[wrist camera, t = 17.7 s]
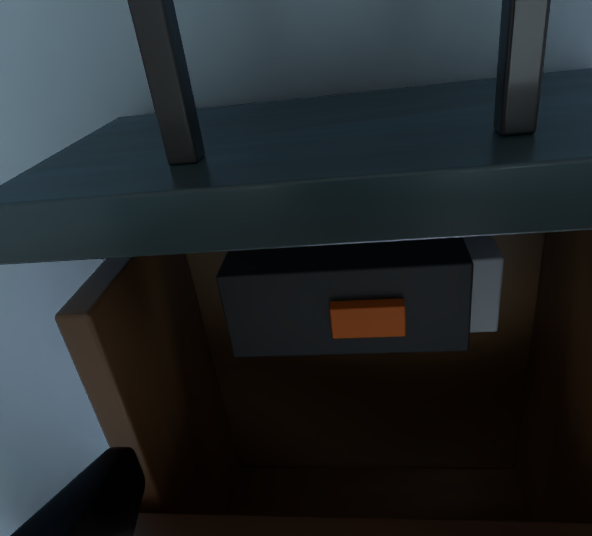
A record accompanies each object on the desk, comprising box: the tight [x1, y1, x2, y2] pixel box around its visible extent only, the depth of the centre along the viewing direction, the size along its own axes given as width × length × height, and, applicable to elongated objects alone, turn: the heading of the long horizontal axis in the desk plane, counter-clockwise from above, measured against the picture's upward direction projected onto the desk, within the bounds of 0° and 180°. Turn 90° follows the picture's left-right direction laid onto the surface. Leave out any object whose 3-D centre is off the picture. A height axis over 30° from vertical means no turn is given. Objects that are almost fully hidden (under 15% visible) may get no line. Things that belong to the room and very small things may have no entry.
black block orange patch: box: [216, 236, 504, 358], centre depth 14 cm, size 7×3×3 cm, turn 97°
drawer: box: [0, 0, 592, 523], centre depth 13 cm, size 19×13×7 cm
